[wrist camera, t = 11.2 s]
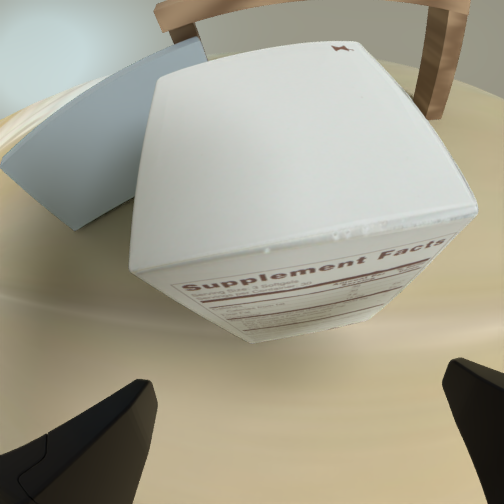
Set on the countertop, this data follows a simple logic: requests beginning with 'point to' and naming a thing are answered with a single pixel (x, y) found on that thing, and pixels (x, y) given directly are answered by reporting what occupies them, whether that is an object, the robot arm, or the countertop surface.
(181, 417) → the countertop surface
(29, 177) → the door
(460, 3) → the door frame
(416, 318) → the countertop surface
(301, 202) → the supplement box
